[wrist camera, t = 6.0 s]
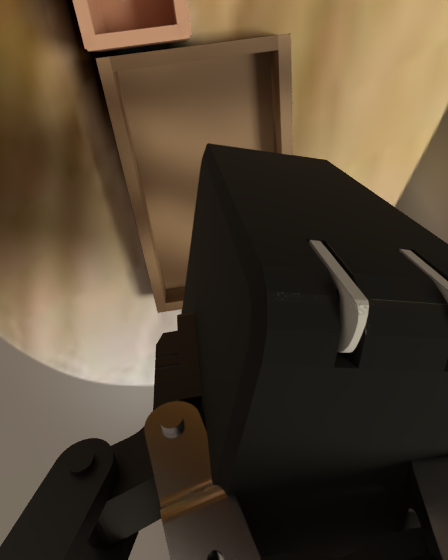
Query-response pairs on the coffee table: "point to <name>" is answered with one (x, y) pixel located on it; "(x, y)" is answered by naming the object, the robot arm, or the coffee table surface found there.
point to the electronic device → (314, 347)
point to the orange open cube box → (131, 23)
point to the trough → (190, 133)
